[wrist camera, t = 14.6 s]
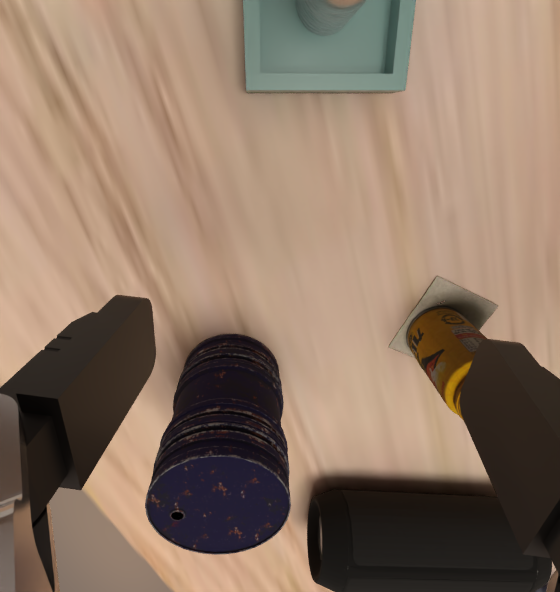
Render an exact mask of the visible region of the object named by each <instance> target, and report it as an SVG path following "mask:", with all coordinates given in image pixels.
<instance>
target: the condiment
mask: <svg viewBox="0 0 560 592" xmlns="http://www.w3.org/2000/svg"><path fill="white" fill-rule="evenodd" d="M442 301H445V302H443V303H441V302H442ZM437 303H440V304H439V305H437ZM497 307H498V305H496V304H494V303H491V302H490V301H488V300H486V299H484V298H482V297H479V296H478V295H476V294H473V293H471V292H469V291H467V290H465V289H463V288H461V287H459V286H457V285H455V284H453V283H451V282H449V281H447V280H444V279H442V278H440V277H438V276H437V277H436V279H435V280H434V282H433V283H432V285H431V286H430V287H429V289H428V290H427V292H426V294H425V295H424V296H423V298H422V299H421V300H420V302H419V304H418V305H417V306H416V308H415V309H414V310H413V312H412V313H411V314H410V316H409V317H408V319H407V320H406V322H405V323H404V325H403V326H402V327H401V329H400V330H399V332H398V333H397V335H396V336H395V338H394V339H393V341H392V342H391V344H390V346H389V348H392V349H394V350H397V351H399V352H402V353H404V354H407V355H409V356H411V357H414V358H416V359H417V361H418V363H419V365H420V366H421V368H422V369H423V370H424V371H425V373H426V374H427V376H428V377H429V379H430V380H431V382H432V383H433V385H434V386H435V388H436V389H437V391H438V392H439V394H440V395H441V397H442V399H443V400H444V402H445V403H446V404H447V406H448V407H449V408H450V409H451V410H452V411H453V412H454V413H456V414H457V415H459V416H460V417H461V418H462V419H463V417H462V414H461V410H460V393H461V389H462V386H463V384H464V381H465V378H466V376H467V373H468V371H469V368H470V366H471V363H472V361H473V358H474V356H475V353H476V350H477V348H478V346H479V344H480V343H481V342H482V341H483V340H484V339H487V338H486V337H485V336H484V335H483V334H482V333H481V332H480V331H479V330H480V328H481V327H482V326H483V324H484V323H485V322H486V320H487V319H488V318H489V317H490V316H491V315H492V314H493V313H494V311H495V310H496V308H497ZM463 420H464V419H463ZM464 422H465V421H464Z"/></svg>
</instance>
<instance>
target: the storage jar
mask: <svg viewBox="0 0 560 592" xmlns="http://www.w3.org/2000/svg"><path fill="white" fill-rule="evenodd" d="M173 403H174V404H173V412H174V414H173V418H172V421H171V422H170V424H169V425H168V427H167V429H166V431H165V432H164V434H163V436H162V439H161V442H160V448H159V451H158V453H157V457H156V460H155V463H154V470H153V476H152V480H151V483H150V486H149V490H148V493H147V496H146V503H145V508H146V514H147V517H148V520H149V522H150V523H151V525H152V527H153V528H154V529H155V530H156V532H157V533H158V534H159V535H161V536H162V537H163V538H164V539H166V540H167V541H169V542H170V543H172V544H174V545H176V546H178V547H181V548H183V549H186V550H189V551H193V552H198V553H203V554H231V553H237V552H242V551H246V550H249V549H252V548H255V547H257V546H259V545H261V544H263V543H265V542H266V541H268V540H269V539H271V538H272V537H273V536H275V535H276V534H277V533H278V532H279V531H280V530H281V528H282V527H283V526H284V524H285V523H286V521H287V519H288V516H289V513H290V506H291V502H290V492H289V463H288V454H287V451H288V448H287V441H286V438H285V435H284V432H283V429H282V428H281V417H282V411H283V395H282V387H281V381H280V378H279V369H278V364H277V361H276V359H275V357H274V355H273V354H272V353H271V351H270V350H269V349H268V348H267V347H266V346H265V345H264V344H262V343H261V342H259V341H257V340H255V339H253V338H251V337H248V336H244V335H238V334H224V335H218V336H214V337H211V338H209V339H207V340H205V341H203V342H202V343H200V344H199V345H198V346H196V347H195V348H194V349H193V351H192V352H191V353H190V355H189V356H188V358H187V361H186V363H185V367H184V370H183V372H182V374H181V376H180V379H179V383H178V386H177V390H176V393H175V395H174V402H173Z"/></svg>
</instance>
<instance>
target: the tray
mask: <svg viewBox="0 0 560 592" xmlns="http://www.w3.org/2000/svg"><path fill="white" fill-rule="evenodd" d="M415 4H416V0H367V1H366V2H365V3H364V4H363V6H362V7H361V8H360V9H359V10H358V11H357V12H356V14H355V15H354V16H353V17H352V18H351V19H350V20H349V22H348V23H347V24H346V25H345V26H344V27H343V28H342V29H341V30H340V31H338V32H336V33H335V34H332V35H328V36H320V35H316V34H314V33H312V32H310V31H309V30H308V29H307V28H306V27H305V26H304V25H303V24H302V22H301V20H300V19H299V16H298V13H297V9H296V0H243V13H244V42H245V72H246V91H247V93H395V92H400V91H405V89H406V81H407V72H408V63H409V55H410V46H411V38H412V29H413V21H414V12H415Z"/></svg>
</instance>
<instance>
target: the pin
mask: <svg viewBox="0 0 560 592" xmlns="http://www.w3.org/2000/svg"><path fill="white" fill-rule="evenodd" d="M366 1H367V0H296V9H297V13H298V16H299V19H300V20H301V22H302V24H303V25H304V26H305V27H306V28H307V29H308V30H309V31H310V32H312V33H314V34H316V35H320V36H328V35H332V34H335V33H336V32H338V31H340V30H341V29H342V28H343V27H344V26H345V25H346V24H347V23H348V22H349V20H350V19H351V18H352V17H353V16H354V15H355V14H356V12H357V11H358V10H359V9H360V8H361V7H362V6H363V4H364V3H365V2H366Z"/></svg>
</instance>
